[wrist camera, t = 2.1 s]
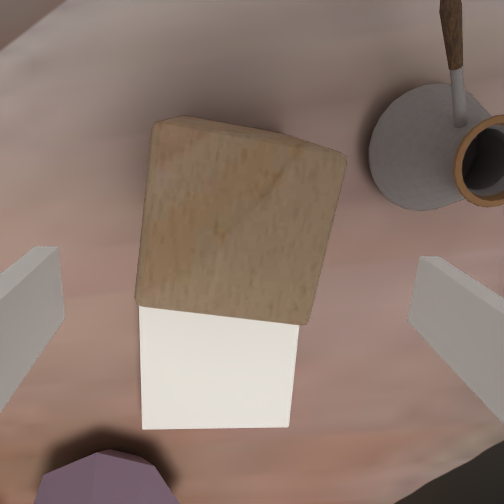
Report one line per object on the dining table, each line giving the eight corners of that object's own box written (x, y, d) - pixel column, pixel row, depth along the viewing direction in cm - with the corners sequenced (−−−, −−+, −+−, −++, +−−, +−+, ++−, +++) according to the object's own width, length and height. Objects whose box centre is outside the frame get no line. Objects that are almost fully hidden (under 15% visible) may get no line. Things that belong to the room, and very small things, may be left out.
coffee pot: (486, 170, 43) (619, 200, 29) (384, 224, 44) (466, 278, 30) (413, -50, 36) (542, -151, 22) (295, 18, 37) (346, -37, 23)
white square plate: (296, 284, 45) (302, 295, 42) (284, 409, 50) (288, 427, 47) (143, 281, 44) (138, 293, 41) (146, 410, 49) (142, 429, 46)
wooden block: (167, 219, 42) (132, 309, 23) (180, 114, 39) (151, 118, 20) (266, 234, 43) (309, 329, 24) (286, 133, 40) (352, 154, 21)
